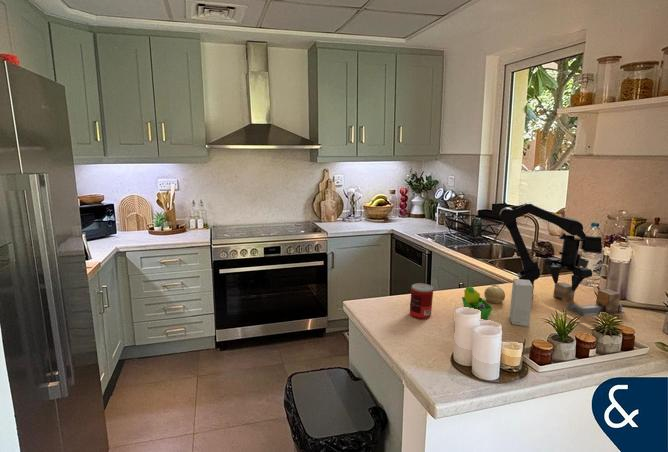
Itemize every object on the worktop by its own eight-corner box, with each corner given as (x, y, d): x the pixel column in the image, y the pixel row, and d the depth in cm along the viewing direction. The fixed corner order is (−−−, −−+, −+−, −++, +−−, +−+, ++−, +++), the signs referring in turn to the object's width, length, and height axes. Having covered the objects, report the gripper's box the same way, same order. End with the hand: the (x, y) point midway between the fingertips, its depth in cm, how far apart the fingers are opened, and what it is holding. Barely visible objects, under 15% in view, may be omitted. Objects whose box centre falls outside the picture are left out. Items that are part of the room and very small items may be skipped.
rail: (583, 319, 151) (585, 310, 150) (563, 309, 159) (565, 301, 158) (624, 315, 156) (626, 306, 156) (603, 306, 165) (604, 298, 164)
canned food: (431, 313, 151) (434, 284, 149) (429, 321, 144) (432, 291, 142) (411, 309, 154) (413, 281, 152) (407, 317, 146) (410, 288, 144)
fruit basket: (492, 322, 145) (495, 291, 143) (468, 321, 145) (471, 291, 143) (479, 309, 157) (482, 281, 154) (456, 309, 156) (459, 281, 154)
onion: (508, 303, 165) (510, 286, 163) (496, 306, 160) (498, 289, 159) (491, 296, 171) (492, 280, 170) (479, 300, 167) (481, 283, 165)
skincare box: (529, 327, 142) (534, 286, 139) (510, 324, 144) (515, 284, 141) (525, 318, 150) (530, 279, 147) (508, 315, 152) (512, 277, 149)
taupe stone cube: (606, 312, 156) (609, 294, 154) (594, 306, 161) (596, 290, 160) (617, 311, 157) (620, 293, 156) (605, 305, 162) (607, 289, 161)
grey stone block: (563, 303, 166) (565, 287, 165) (552, 298, 171) (555, 282, 170) (574, 302, 168) (576, 286, 166) (563, 297, 173) (565, 282, 171)
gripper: (606, 255, 159) (599, 293, 162) (567, 244, 176) (562, 279, 179) (583, 256, 156) (577, 295, 159) (546, 245, 173) (541, 280, 176)
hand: (564, 287), depth 168 cm, fingers open, 9 cm apart
